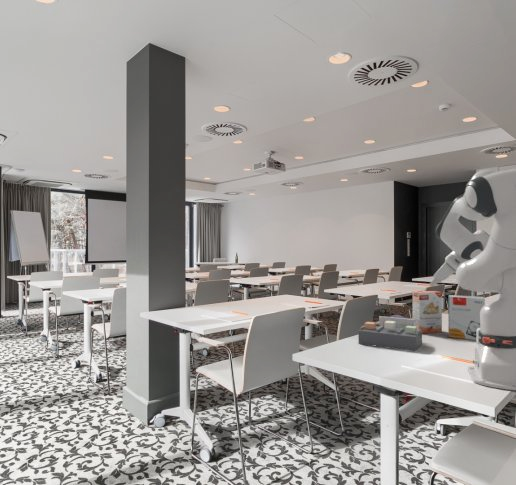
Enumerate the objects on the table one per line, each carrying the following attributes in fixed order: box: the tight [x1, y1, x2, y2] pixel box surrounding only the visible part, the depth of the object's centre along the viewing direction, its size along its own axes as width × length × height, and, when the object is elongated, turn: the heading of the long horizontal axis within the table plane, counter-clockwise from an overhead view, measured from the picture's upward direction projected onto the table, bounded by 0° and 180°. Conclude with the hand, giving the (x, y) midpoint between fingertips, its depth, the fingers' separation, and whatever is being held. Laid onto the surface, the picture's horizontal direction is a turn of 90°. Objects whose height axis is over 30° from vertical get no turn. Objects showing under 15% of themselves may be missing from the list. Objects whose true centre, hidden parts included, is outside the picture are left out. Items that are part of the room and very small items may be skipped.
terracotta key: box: [363, 321, 377, 330], centre depth 178 cm, size 4×4×2 cm
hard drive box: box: [447, 294, 486, 341], centre depth 185 cm, size 16×8×20 cm, turn 62°
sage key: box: [405, 326, 417, 334], centre depth 169 cm, size 4×4×2 cm
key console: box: [358, 315, 423, 352], centre depth 176 cm, size 20×25×10 cm
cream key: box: [384, 321, 396, 329], centre depth 174 cm, size 4×4×2 cm
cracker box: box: [412, 290, 443, 334], centre depth 198 cm, size 14×6×21 cm, turn 105°
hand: (431, 285), depth 165 cm, fingers closed
